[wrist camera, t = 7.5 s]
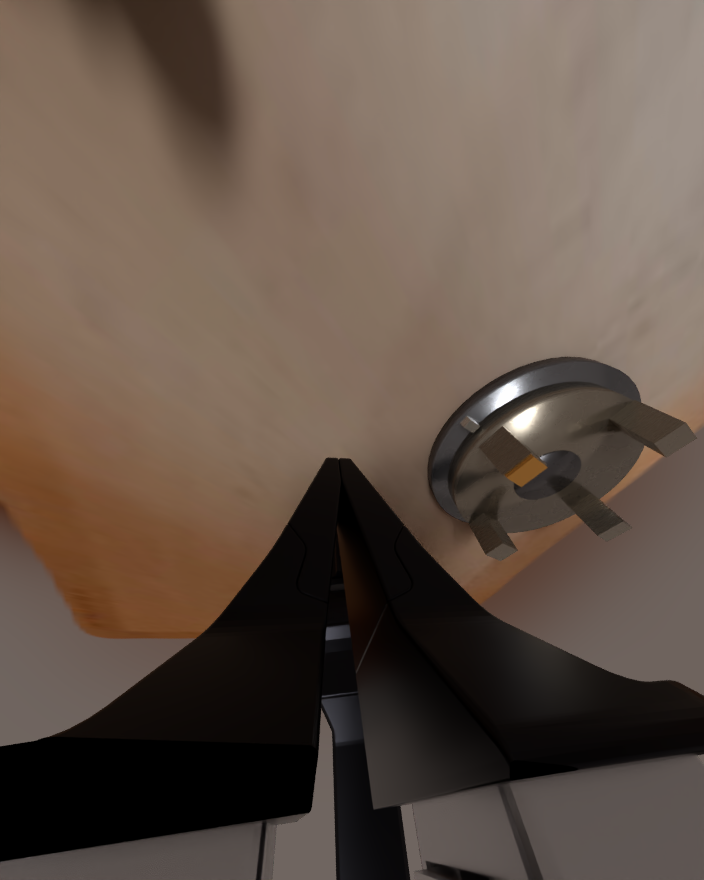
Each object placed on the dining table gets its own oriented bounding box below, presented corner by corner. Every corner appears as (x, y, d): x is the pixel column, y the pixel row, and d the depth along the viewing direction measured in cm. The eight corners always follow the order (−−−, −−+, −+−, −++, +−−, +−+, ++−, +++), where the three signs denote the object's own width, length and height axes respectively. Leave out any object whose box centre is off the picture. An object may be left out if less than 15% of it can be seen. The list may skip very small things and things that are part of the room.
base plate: (552, 516, 34) (565, 531, 32) (407, 514, 31) (412, 530, 30) (677, 368, 23) (707, 377, 21) (470, 344, 20) (484, 352, 18)
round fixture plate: (654, 438, 26) (729, 479, 21) (511, 534, 33) (542, 580, 28) (567, 339, 19) (649, 365, 14) (412, 485, 26) (432, 535, 22)
